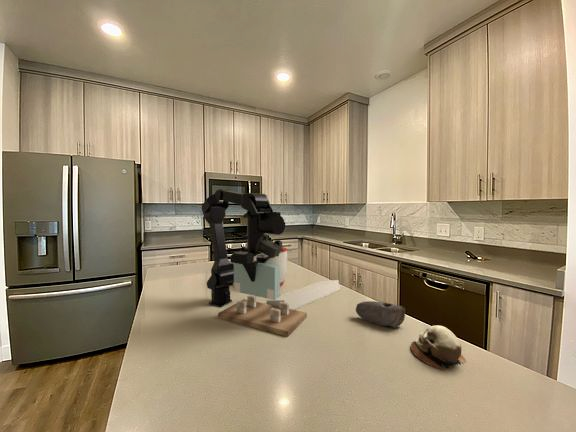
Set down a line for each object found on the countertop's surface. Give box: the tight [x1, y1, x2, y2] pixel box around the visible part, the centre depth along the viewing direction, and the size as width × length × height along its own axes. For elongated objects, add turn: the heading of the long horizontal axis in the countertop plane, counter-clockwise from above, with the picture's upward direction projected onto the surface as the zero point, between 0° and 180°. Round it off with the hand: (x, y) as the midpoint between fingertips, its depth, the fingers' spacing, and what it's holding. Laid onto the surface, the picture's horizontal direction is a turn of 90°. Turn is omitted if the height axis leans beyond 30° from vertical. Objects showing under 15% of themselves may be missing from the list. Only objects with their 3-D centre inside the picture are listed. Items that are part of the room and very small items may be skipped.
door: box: [233, 263, 281, 300], centre depth 80 cm, size 16×3×10 cm, turn 62°
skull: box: [410, 325, 468, 372], centre depth 62 cm, size 12×10×10 cm
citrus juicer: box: [266, 247, 288, 287], centre depth 116 cm, size 16×17×20 cm
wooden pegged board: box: [217, 294, 308, 338], centre depth 82 cm, size 26×14×5 cm, turn 63°
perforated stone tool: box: [355, 300, 406, 329], centre depth 78 cm, size 15×5×7 cm, turn 54°
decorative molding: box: [265, 279, 341, 311], centre depth 100 cm, size 34×5×10 cm
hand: (255, 280), depth 80 cm, fingers closed on door, 3 cm apart
